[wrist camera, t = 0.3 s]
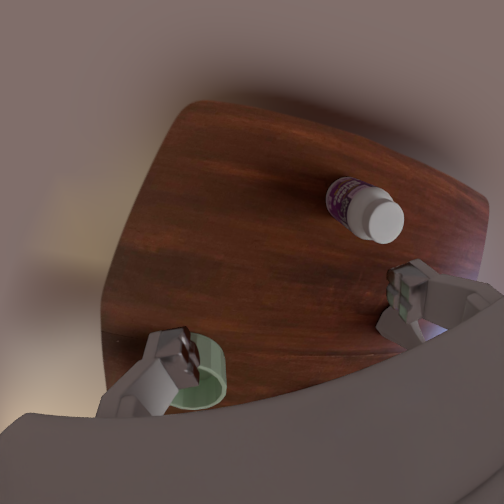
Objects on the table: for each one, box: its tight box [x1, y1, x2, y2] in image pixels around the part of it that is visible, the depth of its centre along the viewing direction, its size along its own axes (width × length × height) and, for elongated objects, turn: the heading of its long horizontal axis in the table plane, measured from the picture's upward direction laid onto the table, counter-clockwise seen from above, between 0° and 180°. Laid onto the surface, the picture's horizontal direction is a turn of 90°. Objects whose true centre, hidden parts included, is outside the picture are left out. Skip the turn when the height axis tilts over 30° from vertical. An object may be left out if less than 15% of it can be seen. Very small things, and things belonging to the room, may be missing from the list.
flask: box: [376, 306, 426, 350], centre depth 35 cm, size 7×7×10 cm
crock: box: [170, 333, 227, 410], centre depth 35 cm, size 10×10×6 cm
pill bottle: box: [326, 177, 404, 244], centre depth 27 cm, size 5×5×10 cm
